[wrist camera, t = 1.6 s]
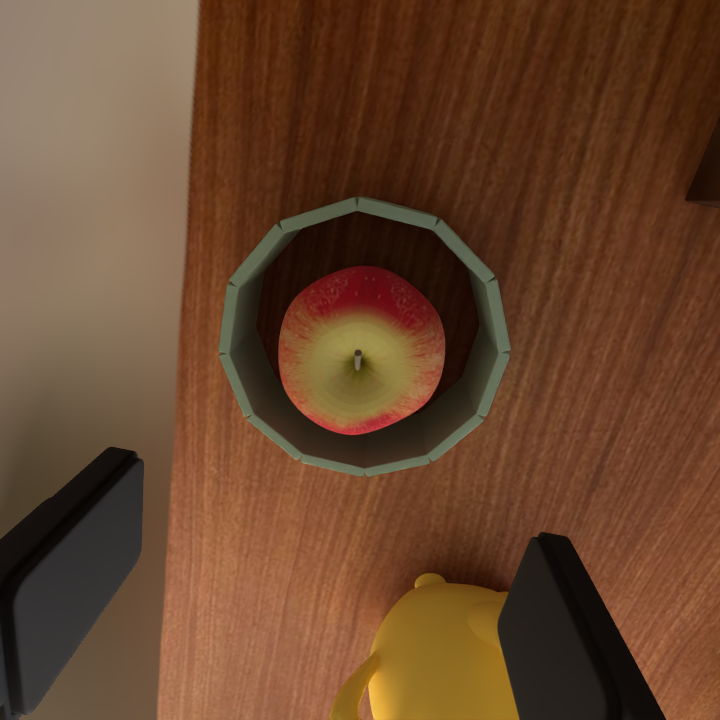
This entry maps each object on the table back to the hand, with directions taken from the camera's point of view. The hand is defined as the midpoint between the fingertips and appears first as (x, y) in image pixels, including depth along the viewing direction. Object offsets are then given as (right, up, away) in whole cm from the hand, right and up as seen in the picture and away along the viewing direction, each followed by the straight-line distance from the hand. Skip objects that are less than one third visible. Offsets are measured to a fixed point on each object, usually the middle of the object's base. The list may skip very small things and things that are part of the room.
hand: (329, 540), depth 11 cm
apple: (+1, +6, +17) cm, 18 cm away
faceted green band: (+1, +6, +16) cm, 18 cm away
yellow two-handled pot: (+9, -14, +24) cm, 29 cm away
